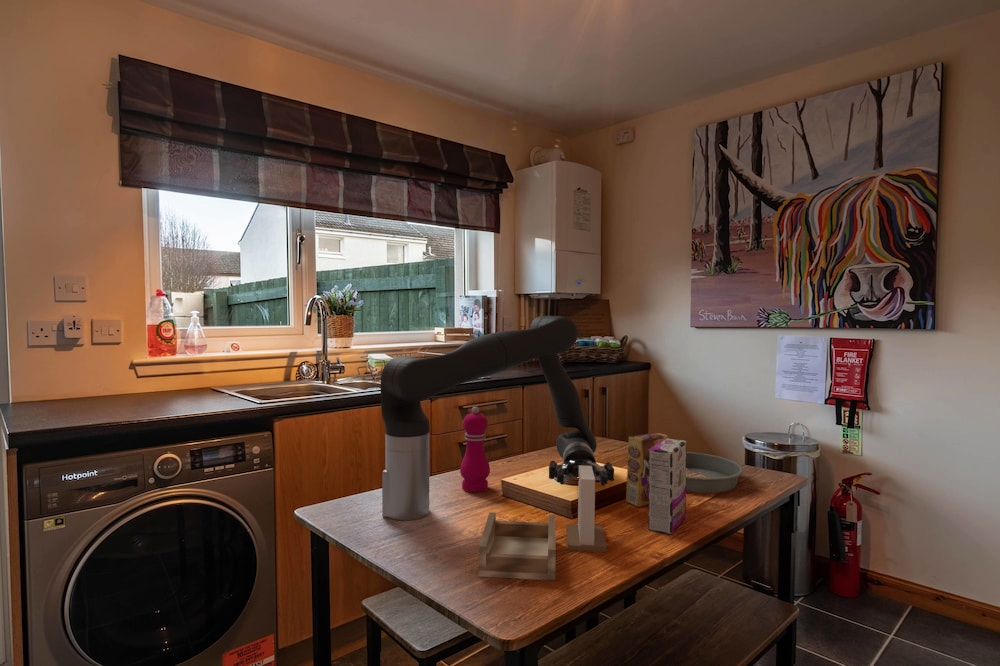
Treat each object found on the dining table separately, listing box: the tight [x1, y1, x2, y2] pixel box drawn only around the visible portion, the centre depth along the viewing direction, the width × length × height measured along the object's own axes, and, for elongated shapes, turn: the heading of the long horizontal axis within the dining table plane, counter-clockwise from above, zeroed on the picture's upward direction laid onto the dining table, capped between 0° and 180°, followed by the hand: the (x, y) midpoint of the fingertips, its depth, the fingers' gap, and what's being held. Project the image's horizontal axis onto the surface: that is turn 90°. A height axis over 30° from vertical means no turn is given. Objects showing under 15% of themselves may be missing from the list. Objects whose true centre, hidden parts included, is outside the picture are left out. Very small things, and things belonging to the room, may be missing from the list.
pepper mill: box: [459, 406, 491, 493], centre depth 136 cm, size 7×7×20 cm
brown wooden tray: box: [478, 511, 557, 581], centre depth 98 cm, size 12×15×5 cm
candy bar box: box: [648, 437, 687, 535], centre depth 114 cm, size 11×5×16 cm, turn 148°
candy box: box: [625, 432, 669, 508], centre depth 127 cm, size 9×4×15 cm, turn 123°
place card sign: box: [565, 465, 608, 553], centre depth 106 cm, size 7×10×13 cm
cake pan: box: [686, 451, 745, 494], centre depth 145 cm, size 25×25×4 cm
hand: (582, 480), depth 118 cm, fingers open, 8 cm apart
